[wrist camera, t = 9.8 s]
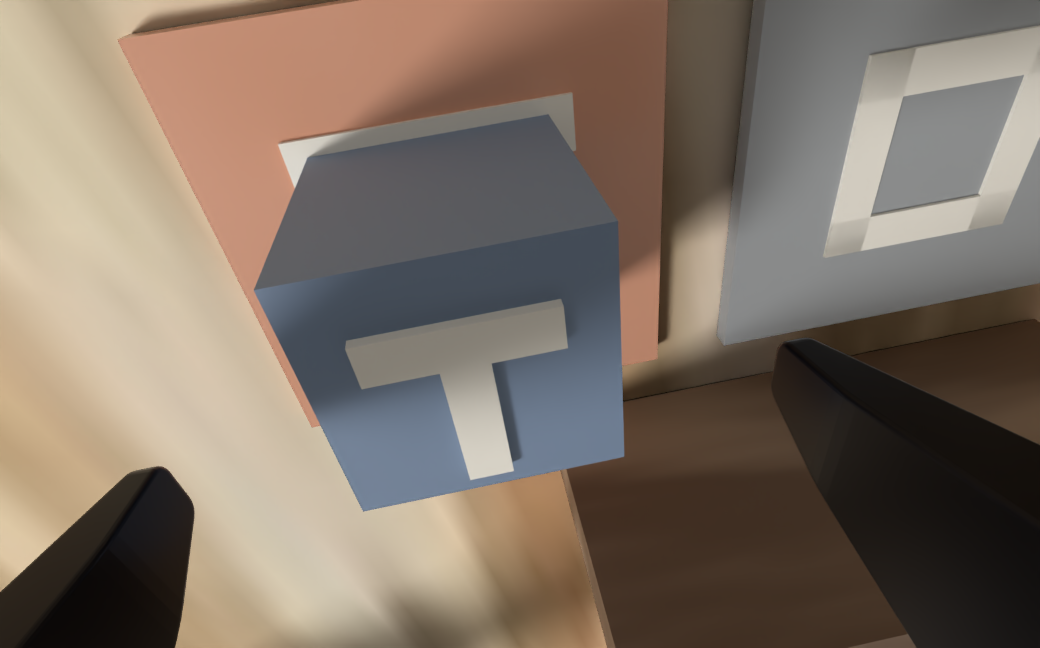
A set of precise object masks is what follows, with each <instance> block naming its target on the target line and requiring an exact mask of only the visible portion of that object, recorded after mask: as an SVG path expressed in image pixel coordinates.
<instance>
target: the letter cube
mask: <svg viewBox="0 0 1040 648" xmlns="http://www.w3.org/2000/svg"><path fill="white" fill-rule="evenodd" d="M254 292H255V294H256V296H257V298H258V300H259V302H260V304H261V306H262V308H263V310H264V312H265V314H266V316H267V318H268V320H269V322H270V324H271V326H272V329H273V331H274V333H275V335H276V337H277V339H278V341H279V343H280V345H281V347H282V349H283V351H284V353H285V355H286V357H287V359H288V361H289V363H290V365H291V367H292V369H293V371H294V373H295V375H296V377H297V379H298V381H299V383H300V385H301V387H302V389H303V391H304V393H305V395H306V397H307V399H308V401H309V403H310V405H311V407H312V409H313V411H314V413H315V415H316V417H317V419H318V421H319V423H320V425H321V427H322V429H323V431H324V433H325V435H326V437H327V439H328V442H329V444H330V446H331V448H332V450H333V452H334V454H335V456H336V458H337V460H338V462H339V464H340V466H341V468H342V470H343V472H344V474H345V476H346V478H347V480H348V482H349V484H350V486H351V488H352V490H353V492H354V494H355V496H356V498H357V500H358V502H359V504H360V506H361V508H362V510H363V511H368V510H373V509H377V508H382V507H387V506H392V505H397V504H401V503H406V502H411V501H416V500H420V499H425V498H430V497H435V496H440V495H444V494H449V493H454V492H459V491H463V490H468V489H473V488H478V487H482V486H487V485H492V484H497V483H502V482H506V481H511V480H516V479H521V478H525V477H530V476H535V475H540V474H545V473H549V472H554V471H559V470H564V469H568V468H573V467H578V466H583V465H588V464H592V463H597V462H602V461H607V460H611V459H616V458H621V457H624V424H623V386H622V348H621V311H620V273H619V235H618V220H617V219H616V217H615V215H614V214H613V212H612V211H611V209H610V208H609V206H608V205H607V203H606V202H605V200H604V199H603V197H602V196H601V194H600V193H599V191H598V189H597V188H596V186H595V185H594V183H593V182H592V180H591V179H590V177H589V176H588V174H587V173H586V171H585V170H584V168H583V166H582V165H581V163H580V162H579V160H578V159H577V157H576V156H575V154H574V153H573V151H572V150H571V148H570V147H569V145H568V144H567V142H566V140H565V139H564V137H563V136H562V134H561V133H560V131H559V130H558V128H557V127H556V125H555V124H554V122H553V121H552V119H551V118H550V116H549V114H547V115H541V116H536V117H530V118H525V119H519V120H513V121H508V122H502V123H497V124H491V125H486V126H480V127H475V128H469V129H464V130H458V131H452V132H447V133H441V134H436V135H430V136H425V137H419V138H414V139H408V140H403V141H397V142H391V143H386V144H380V145H375V146H369V147H364V148H358V149H353V150H347V151H342V152H336V153H330V154H325V155H319V156H314V157H308V158H307V160H306V162H305V165H304V167H303V170H302V172H301V175H300V177H299V180H298V182H297V185H296V187H295V189H294V192H293V194H292V197H291V199H290V202H289V204H288V207H287V209H286V212H285V214H284V217H283V219H282V222H281V224H280V226H279V229H278V231H277V234H276V236H275V239H274V241H273V244H272V246H271V249H270V251H269V254H268V256H267V258H266V261H265V263H264V266H263V268H262V271H261V273H260V276H259V278H258V281H257V283H256V286H255V288H254Z"/></svg>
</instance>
